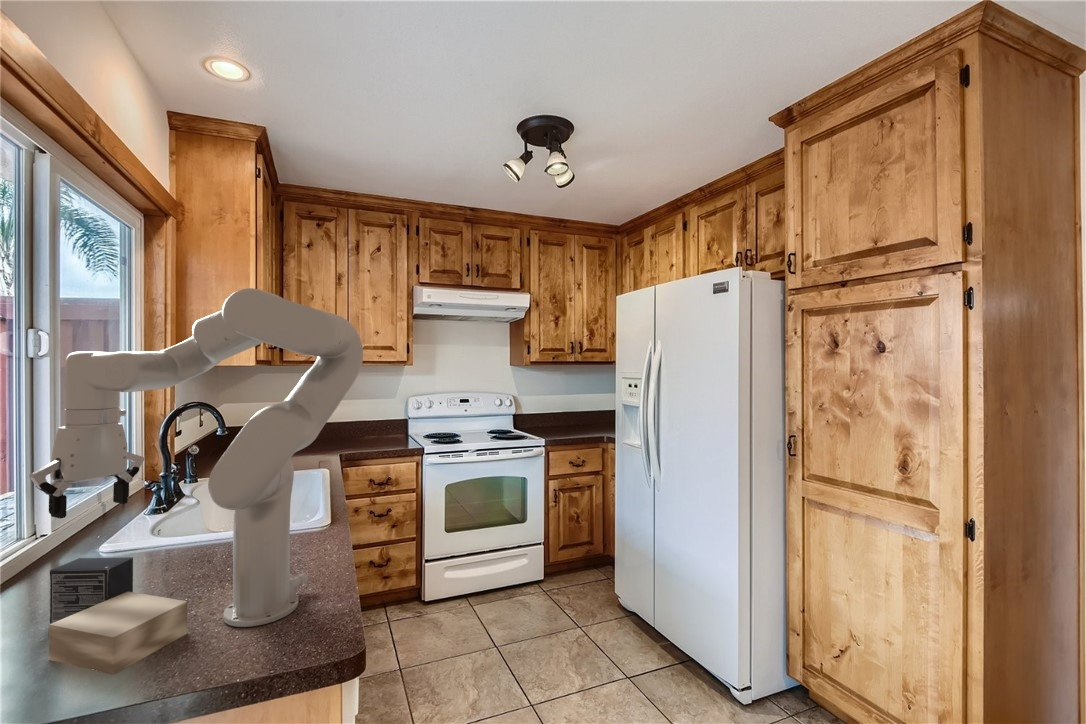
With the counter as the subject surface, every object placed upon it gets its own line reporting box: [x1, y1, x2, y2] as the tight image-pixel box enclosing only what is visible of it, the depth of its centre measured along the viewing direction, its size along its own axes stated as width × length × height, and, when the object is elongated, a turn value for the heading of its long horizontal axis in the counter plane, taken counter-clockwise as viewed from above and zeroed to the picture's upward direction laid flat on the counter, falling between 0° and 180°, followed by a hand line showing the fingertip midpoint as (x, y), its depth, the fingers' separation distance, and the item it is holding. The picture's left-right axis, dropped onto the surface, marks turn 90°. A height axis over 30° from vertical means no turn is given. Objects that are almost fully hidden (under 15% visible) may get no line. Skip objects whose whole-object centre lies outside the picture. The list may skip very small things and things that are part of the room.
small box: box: [49, 556, 134, 624], centre depth 94 cm, size 11×6×10 cm, turn 92°
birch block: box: [48, 591, 188, 675], centre depth 85 cm, size 12×14×6 cm
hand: (90, 509), depth 93 cm, fingers open, 9 cm apart
